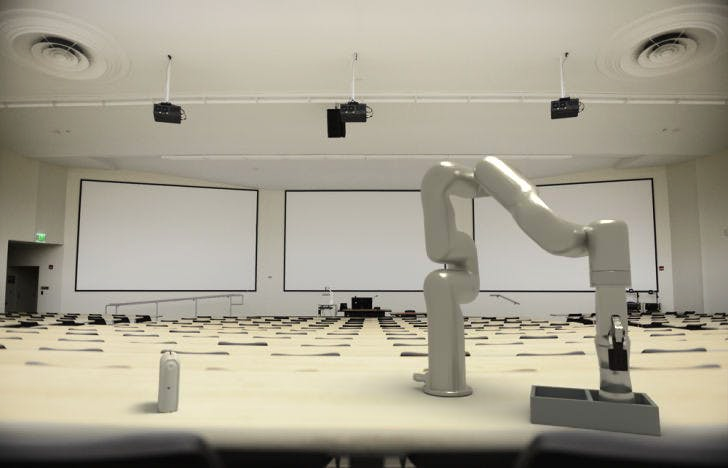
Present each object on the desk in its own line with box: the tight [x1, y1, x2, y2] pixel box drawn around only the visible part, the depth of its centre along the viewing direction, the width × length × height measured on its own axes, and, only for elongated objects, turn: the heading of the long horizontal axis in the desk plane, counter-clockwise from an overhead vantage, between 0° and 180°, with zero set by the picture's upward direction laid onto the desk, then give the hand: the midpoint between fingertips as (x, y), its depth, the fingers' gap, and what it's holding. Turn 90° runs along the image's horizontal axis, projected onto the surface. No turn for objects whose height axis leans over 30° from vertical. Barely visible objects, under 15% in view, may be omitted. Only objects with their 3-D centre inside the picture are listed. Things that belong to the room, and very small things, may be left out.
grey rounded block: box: [157, 351, 181, 413], centre depth 105 cm, size 10×4×12 cm, turn 25°
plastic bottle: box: [593, 320, 636, 404], centre depth 93 cm, size 6×7×20 cm
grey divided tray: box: [529, 384, 662, 437], centre depth 93 cm, size 22×12×5 cm, turn 69°
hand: (615, 366), depth 92 cm, fingers open, 9 cm apart
